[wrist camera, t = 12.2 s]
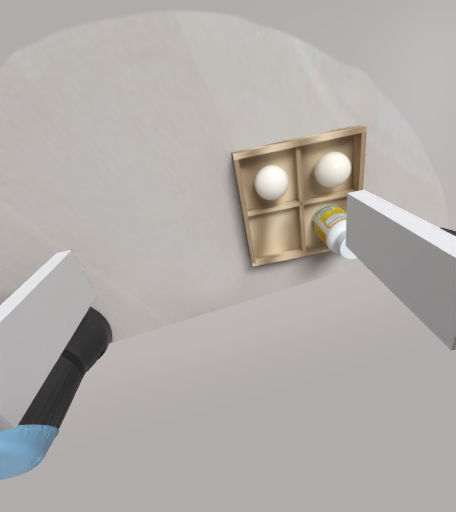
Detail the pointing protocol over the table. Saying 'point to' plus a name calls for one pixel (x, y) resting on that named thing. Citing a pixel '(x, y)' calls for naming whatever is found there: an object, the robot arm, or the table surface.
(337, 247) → the supplement bottle
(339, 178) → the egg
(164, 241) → the table surface
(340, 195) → the wooden compartment tray
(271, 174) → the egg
